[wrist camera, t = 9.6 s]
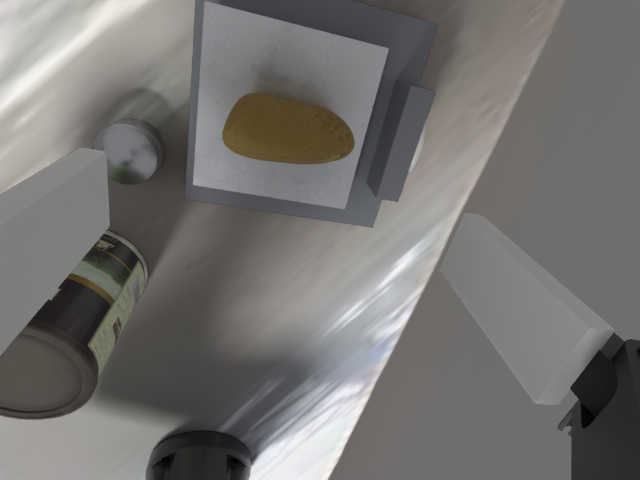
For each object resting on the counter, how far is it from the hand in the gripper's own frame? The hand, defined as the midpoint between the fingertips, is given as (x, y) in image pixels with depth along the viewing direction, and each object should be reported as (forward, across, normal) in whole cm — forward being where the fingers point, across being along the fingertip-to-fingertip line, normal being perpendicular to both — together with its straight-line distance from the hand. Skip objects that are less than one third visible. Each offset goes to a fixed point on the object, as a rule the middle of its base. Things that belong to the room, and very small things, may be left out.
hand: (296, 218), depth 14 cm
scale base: (+23, -2, 0) cm, 23 cm away
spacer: (+23, +12, +6) cm, 27 cm away
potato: (+17, 0, 0) cm, 17 cm away
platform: (+18, 0, 0) cm, 18 cm away
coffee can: (+23, +16, +20) cm, 34 cm away
